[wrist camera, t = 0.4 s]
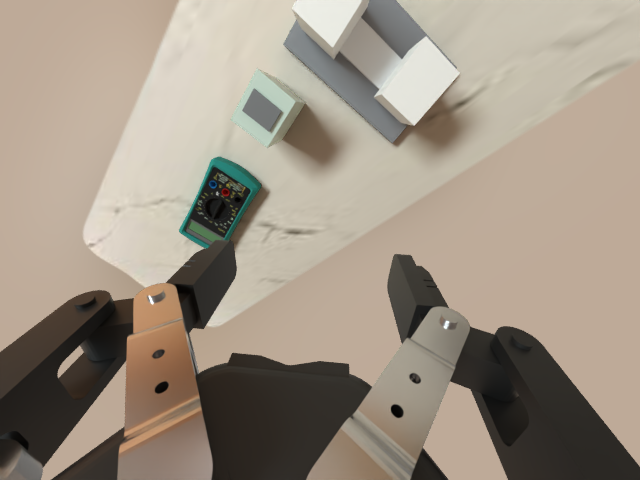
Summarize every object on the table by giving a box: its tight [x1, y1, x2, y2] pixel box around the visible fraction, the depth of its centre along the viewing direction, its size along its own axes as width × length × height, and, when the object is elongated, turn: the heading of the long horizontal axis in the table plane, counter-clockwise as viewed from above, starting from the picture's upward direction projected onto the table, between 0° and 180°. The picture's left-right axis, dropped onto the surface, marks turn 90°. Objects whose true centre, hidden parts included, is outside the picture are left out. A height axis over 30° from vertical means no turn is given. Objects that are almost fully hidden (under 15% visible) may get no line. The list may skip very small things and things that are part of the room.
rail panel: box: [283, 0, 460, 143], centre depth 25 cm, size 10×17×8 cm, turn 53°
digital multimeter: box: [179, 157, 261, 249], centre depth 38 cm, size 7×15×3 cm, turn 145°
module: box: [231, 69, 305, 148], centre depth 28 cm, size 6×4×8 cm
